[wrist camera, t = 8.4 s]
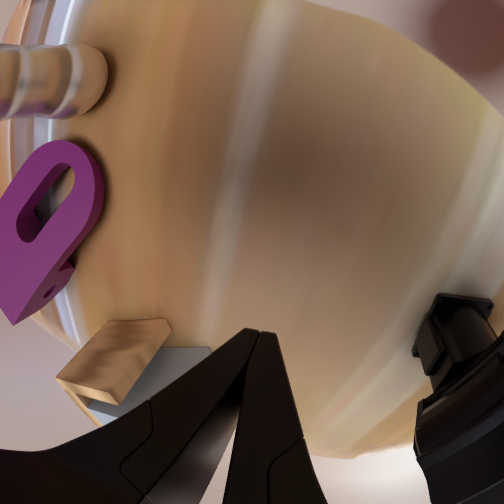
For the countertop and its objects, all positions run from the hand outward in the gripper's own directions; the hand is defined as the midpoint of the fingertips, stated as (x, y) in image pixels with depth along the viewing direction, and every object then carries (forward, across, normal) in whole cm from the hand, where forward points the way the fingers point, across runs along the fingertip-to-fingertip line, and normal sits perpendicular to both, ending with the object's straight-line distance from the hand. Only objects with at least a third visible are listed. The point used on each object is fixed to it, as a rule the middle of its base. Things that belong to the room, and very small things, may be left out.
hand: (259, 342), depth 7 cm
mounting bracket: (+14, +24, +3) cm, 27 cm away
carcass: (+13, +14, +17) cm, 26 cm away
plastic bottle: (+13, +18, -10) cm, 24 cm away
